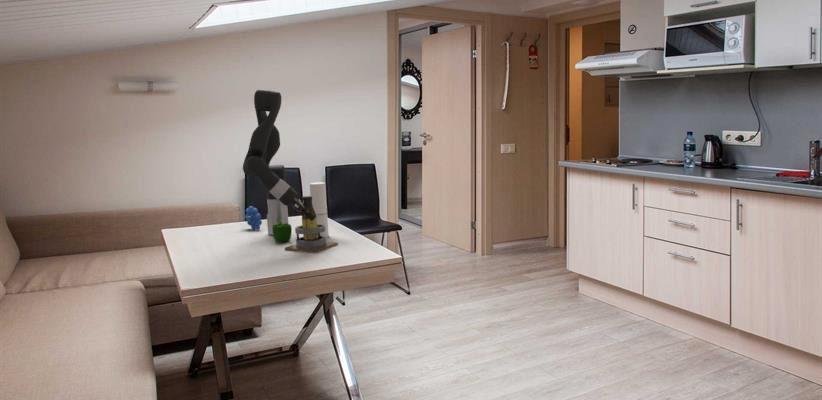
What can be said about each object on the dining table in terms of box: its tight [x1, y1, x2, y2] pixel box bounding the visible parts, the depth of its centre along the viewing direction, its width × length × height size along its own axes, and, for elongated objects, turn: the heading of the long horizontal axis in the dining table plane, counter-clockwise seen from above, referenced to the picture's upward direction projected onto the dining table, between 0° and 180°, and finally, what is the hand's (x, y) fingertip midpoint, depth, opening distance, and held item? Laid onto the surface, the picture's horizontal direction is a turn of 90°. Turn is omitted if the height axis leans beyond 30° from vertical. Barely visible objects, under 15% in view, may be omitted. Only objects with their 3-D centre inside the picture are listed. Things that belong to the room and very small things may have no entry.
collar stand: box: [284, 224, 339, 254], centre depth 271 cm, size 16×16×9 cm
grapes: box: [244, 205, 262, 230], centre depth 320 cm, size 12×7×12 cm, turn 51°
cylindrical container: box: [309, 181, 330, 238], centre depth 294 cm, size 7×7×25 cm
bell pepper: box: [272, 220, 293, 243], centre depth 287 cm, size 8×8×10 cm
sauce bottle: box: [301, 195, 318, 241], centre depth 270 cm, size 6×6×20 cm
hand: (313, 218), depth 270 cm, fingers closed on sauce bottle, 6 cm apart
